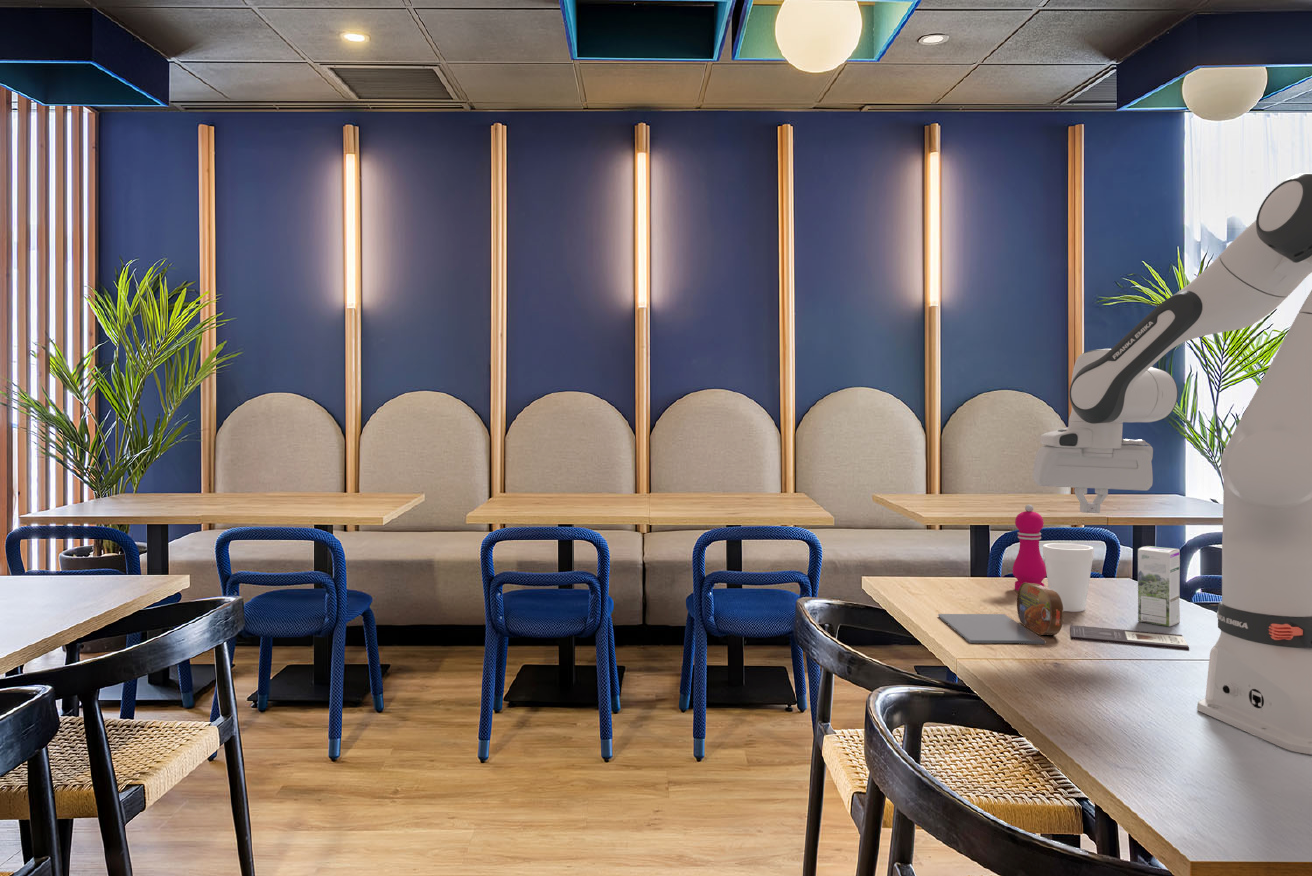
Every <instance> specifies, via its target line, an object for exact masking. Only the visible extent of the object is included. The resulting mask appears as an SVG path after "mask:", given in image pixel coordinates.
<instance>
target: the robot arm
mask: <svg viewBox="0 0 1312 876" xmlns="http://www.w3.org/2000/svg"><path fill="white" fill-rule="evenodd" d="M1311 274H1312V172H1309V173H1308V172H1306V173H1304V172H1303V173H1298V174H1295V175H1292V176H1290V177H1288V178H1286V179H1285V180H1283V181H1281V182H1280V183H1279V184H1278V185H1276V186H1275V187H1274V188H1273V189H1272V190H1271V191H1270V192H1269V193H1268V194H1267V196H1266V197H1265V199H1264V200H1263V201H1262V202H1261V205H1260V207H1259V208H1258V212H1257V214H1256V220H1255V221H1253V222H1252V223H1251V224H1250V225H1248V226H1247V227H1246V228H1245V229H1244V230H1243V231H1242V232H1241V233H1239V235H1238V236H1237V237H1236V238H1235V239H1233V241H1231V242H1230V243H1229V245H1227V246H1226V248H1225V249H1223V251H1222V252H1221V253H1220V254H1219V255H1218V256H1217V257H1216V259H1214V260H1213V261H1212V262H1211V263H1210V264H1209V266H1207V268H1205V269H1204V271H1202V272H1201V273H1200V274H1199V275H1198V276H1196V277H1195V278H1194V279H1193V280H1192V281H1191V282H1189V284H1187V285H1186V286H1184V287H1182V288H1181V289H1180V290H1178V291H1177V292H1176V293H1173V294H1172V295H1171V296H1170V297H1168V298H1166V299H1165V300H1164V301H1163V302H1161V303H1160V304H1159V305H1157V306H1156V307H1155V308H1154V309H1153V310H1152V311H1151V312H1149V313H1148V314H1147V315H1146V316H1145V317H1144V318H1143V319H1142V320H1141V321H1140V322H1139V323H1137V325H1135V326H1134V327H1133V328H1132V329H1131V330H1130V331H1129V332H1128V333H1127V334H1125V336H1123V338H1121V339H1120V341H1118V342H1117V343H1116V344H1115V345H1114V346H1113V347H1112V348H1102V349H1101V348H1100V349H1092V350H1088V351H1085V352H1083V353H1081V354H1079V356H1078V357H1077V358H1076V361H1075V362H1074V366H1073V371H1072V375H1071V382H1070V386H1069V393H1068V396H1069V403H1070V404H1071V411H1070V412H1071V413H1070V414H1069V418H1068V426H1067V427H1064V428H1060V429H1056V430H1052V431H1048V432H1045V433H1043V434H1041V435H1040V437H1039V440H1040V441H1039V442H1040V444H1041V445H1042V446H1041V447H1039V448H1038V450H1037V451H1036V454H1035V455H1034V457H1035V458H1034V461H1033V468H1032V480H1033V482H1034V483H1035V484H1036V485H1037V486H1040V487H1050V488H1051V487H1055V488H1074V492H1073V493H1074V494H1075V496H1076V499H1077V500H1078V501H1079V512H1080V513H1087V514H1088V513H1089V514H1090V513H1091V514H1100V513H1101V506H1102V504H1103V502H1104V501H1105V500H1106V499H1107V497H1108V495H1109V490H1122V491H1123V490H1125V491H1127V490H1128V491H1129V490H1130V491H1149V490H1150V488H1151V487H1152V486H1153V483H1154V482H1153V481H1154V479H1153V477H1154V475H1153V464H1152V460H1153V457H1154V455H1153V454H1154V448H1153V447H1152V445H1151V444H1150V443H1148V442H1146V440H1144V439H1128V438H1125V439H1124V438H1123V430H1124V429H1123V424H1124V423H1153V422H1157V421H1161V420H1164V419H1165V418H1167V417H1168V416H1170V414H1171V413H1172V412H1173V411H1174V409H1175V407H1176V405H1177V403H1178V399H1179V390H1178V385H1177V383H1176V380H1175V379H1174V377H1173V376H1172V375H1171V374H1170V373H1169V371H1166V370H1164V369H1163V370H1162V369H1160V368H1156V367H1153V366H1154V365H1155V364H1156V363H1157V362H1158V361H1159V360H1161V359H1162V358H1163V357H1164V356H1165V355H1166V354H1167V353H1168V352H1169V351H1171V350H1172V349H1174V348H1175V347H1177V346H1179V345H1181V344H1183V343H1186V342H1188V341H1191V340H1194V339H1197V338H1201V337H1205V336H1210V335H1213V334H1220V333H1225V332H1230V331H1231V332H1232V331H1236V330H1242V329H1245V328H1249V327H1251V326H1253V325H1254V324H1256V323H1258V322H1259V321H1260V320H1262V319H1264V318H1265V317H1266V316H1268V315H1269V314H1271V313H1272V312H1273V311H1275V310H1276V309H1277V308H1278V307H1279V306H1280V305H1281V304H1282V303H1283V302H1284V301H1285V300H1286V299H1287V298H1288V296H1290V295H1291V294H1292V293H1293V292H1294V291H1295V290H1296V289H1297V288H1298V287H1299V286H1300V284H1301V283H1303V281H1304V280H1305V279H1306V278H1308V276H1310V275H1311ZM1229 438H1230V439H1229V441H1228V442H1227V444H1226V446H1225V448H1224V449H1223V451H1222V455H1221V458H1220V473H1221V475H1222V479H1223V501H1222V502H1223V504H1222V506H1223V507H1222V508H1223V509H1222V538H1221V539H1222V540H1221V541H1222V542H1221V576H1222V577H1221V594H1222V595H1221V601H1219V603H1218V604H1217V605H1218V609H1217V612H1216V618H1217V628H1218V629H1219V630H1220V634H1219V637H1218V639H1217V641H1216V643H1215V644H1214V645H1213V647H1212V648H1211V650H1210V651H1209V661H1208V670H1207V676H1206V677H1207V679H1206V680H1207V681H1206V691H1205V698H1203V699H1199V701H1198V702H1197V708H1196V709H1197V711H1199V712H1200V713H1203V714H1205V715H1208V716H1210V717H1212V718H1214V719H1217V720H1219V721H1221V722H1224V723H1226V724H1227V725H1230V726H1232V727H1235V728H1236V729H1239V730H1242V731H1244V732H1247V733H1249V734H1251V735H1253V736H1255V737H1257V738H1260V739H1262V740H1264V741H1267V742H1268V743H1271V744H1273V745H1276V746H1278V747H1281V748H1283V749H1285V750H1287V751H1290V752H1295V753H1300V754H1306V755H1312V289H1311V291H1310V292H1309V294H1308V295H1307V297H1306V298H1305V300H1304V302H1303V304H1302V305H1301V307H1300V309H1299V311H1298V313H1297V314H1296V316H1295V318H1294V320H1293V322H1292V324H1291V325H1290V327H1289V329H1288V331H1287V333H1286V335H1285V336H1284V339H1283V341H1282V342H1281V345H1280V346H1279V348H1278V350H1277V352H1276V354H1275V356H1274V358H1273V360H1272V361H1271V362H1270V364H1269V367H1268V369H1267V370H1266V372H1265V374H1264V376H1263V378H1262V380H1261V382H1260V384H1259V386H1258V387H1257V389H1256V391H1255V393H1254V394H1253V396H1252V399H1251V400H1250V402H1249V403H1248V405H1247V407H1246V409H1245V411H1244V413H1243V414H1242V416H1241V418H1240V420H1239V422H1238V424H1237V426H1236V427H1235V430H1234V431H1233V432H1232V435H1231V436H1230V437H1229ZM1088 489H1094V493H1095V494H1097V495H1096V496H1095V498H1094V500H1093V501H1092V502H1091V501H1090V502H1088V500H1087V498H1086V496H1085V495H1088Z"/></svg>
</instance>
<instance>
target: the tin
mask: <svg viewBox="0 0 1312 876" xmlns="http://www.w3.org/2000/svg"><path fill="white" fill-rule="evenodd" d="M1016 596H1017V597H1016V610H1017V616H1018V619H1019V621H1020V623H1021V625H1022V626H1024V625H1025V626H1024V627H1025V628H1027V627H1028V628H1027V629H1028V630H1030V631H1032V632H1034V633H1035V634H1037V635H1040V636H1044V635H1045V636H1046V635H1047V636H1056V635H1057V634H1059V633H1060V632H1061V630H1062V627H1063V616H1064V615H1063V612H1064V611H1063V604H1062V601H1061V598H1060V596H1059V595H1058V593H1057V592H1055V591H1053V590H1051V589H1049V587H1045V585H1044V586H1041V585H1039V584H1034V583H1026V582H1025V583H1023V584H1022V585H1021V586H1020V588H1019V591H1017V595H1016Z"/></svg>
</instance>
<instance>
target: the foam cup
mask: <svg viewBox="0 0 1312 876" xmlns="http://www.w3.org/2000/svg"><path fill="white" fill-rule="evenodd" d="M1094 554H1095V549H1094V547H1093V546H1090V545H1086V544H1078V543H1069V542H1068V543H1065V542H1064V543H1063V542H1062V543H1061V542H1060V543H1059V542H1055V543H1054V542H1053V543H1045V544H1043V545H1042V557H1044V559H1043V560H1044V563H1045V566H1046V573H1047V575H1046V579H1047V586H1048V587H1047V588H1048V589H1051V590H1053V591H1055V592H1057V593H1058V595H1059V596H1060V598H1061V601H1062V604H1063V612H1073V613H1074V612H1077V613H1078V612H1084V611H1085V610H1086V606H1087V599H1088V595H1089V587H1090V582H1091V581H1090V580H1091V575H1092V574H1091V572H1092V567H1093V560H1094V559H1095V557H1094V556H1095V555H1094Z"/></svg>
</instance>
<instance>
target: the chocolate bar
mask: <svg viewBox="0 0 1312 876" xmlns="http://www.w3.org/2000/svg"><path fill="white" fill-rule="evenodd" d="M1070 639H1071V640H1073V641H1074V640H1075V641H1085V642H1095V643H1097V642H1098V643H1108V644H1117V645H1120V644H1121V645H1131V646H1140V647H1152V648H1162V649H1170V650H1171V649H1172V650H1180V651H1181V650H1183V651H1190V647H1189V645H1188V643H1187V641H1186V640H1185V638H1184V636H1183V634H1177V633H1166V632H1165V633H1164V632H1155V631H1141V630H1134V629H1133V630H1131V629H1122V628H1120V629H1119V628H1110V627H1109V628H1107V627H1094V626H1086V625H1075V624H1070Z"/></svg>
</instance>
